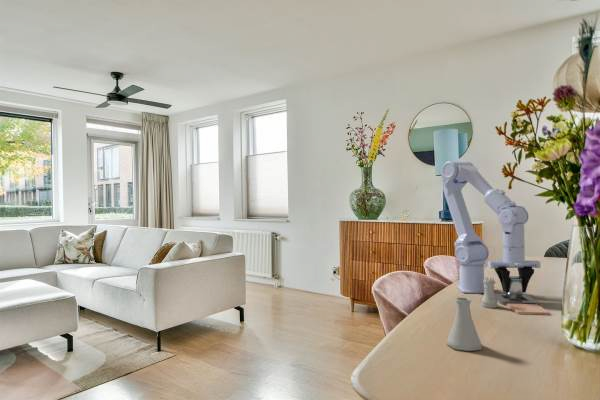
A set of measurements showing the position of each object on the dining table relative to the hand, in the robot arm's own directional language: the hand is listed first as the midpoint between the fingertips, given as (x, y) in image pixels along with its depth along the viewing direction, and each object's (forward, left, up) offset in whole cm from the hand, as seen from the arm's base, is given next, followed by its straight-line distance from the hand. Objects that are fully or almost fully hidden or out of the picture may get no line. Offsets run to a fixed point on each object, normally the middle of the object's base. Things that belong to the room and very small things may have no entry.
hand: (514, 291), depth 118 cm
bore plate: (0, 0, -3) cm, 3 cm away
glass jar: (0, 0, -2) cm, 2 cm away
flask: (+39, -23, -3) cm, 45 cm away
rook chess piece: (+7, -9, -3) cm, 12 cm away
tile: (+10, 0, -3) cm, 10 cm away
